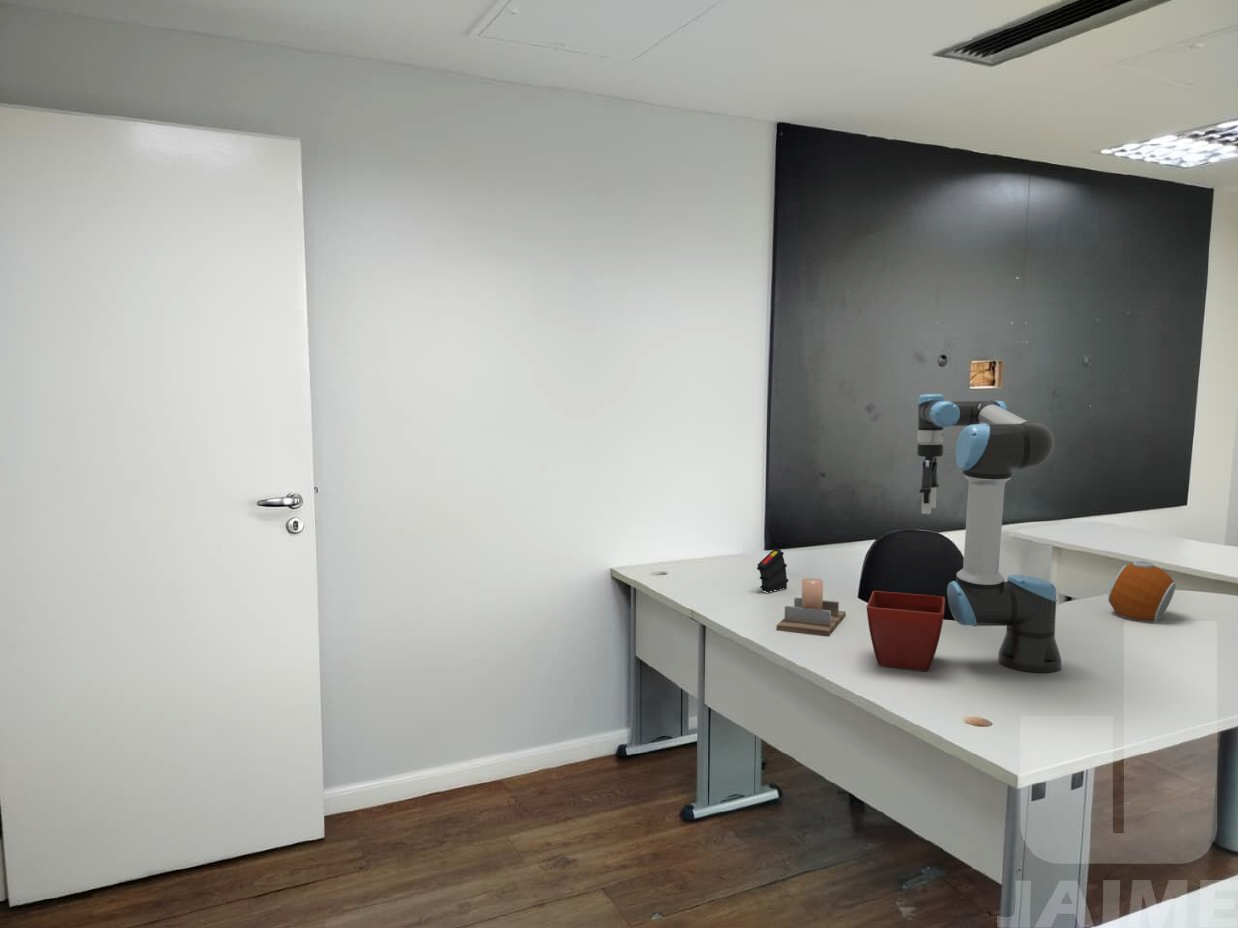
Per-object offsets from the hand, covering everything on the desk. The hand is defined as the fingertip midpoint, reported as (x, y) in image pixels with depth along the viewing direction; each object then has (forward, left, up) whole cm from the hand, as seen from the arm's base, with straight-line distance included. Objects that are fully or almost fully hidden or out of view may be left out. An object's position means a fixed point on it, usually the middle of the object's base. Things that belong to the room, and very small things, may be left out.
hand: (928, 510), depth 268 cm
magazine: (+15, +55, -35) cm, 67 cm away
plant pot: (-47, 0, -35) cm, 59 cm away
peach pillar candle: (-20, +32, -33) cm, 50 cm away
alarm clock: (+29, -61, -35) cm, 76 cm away
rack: (-20, +32, -35) cm, 51 cm away
